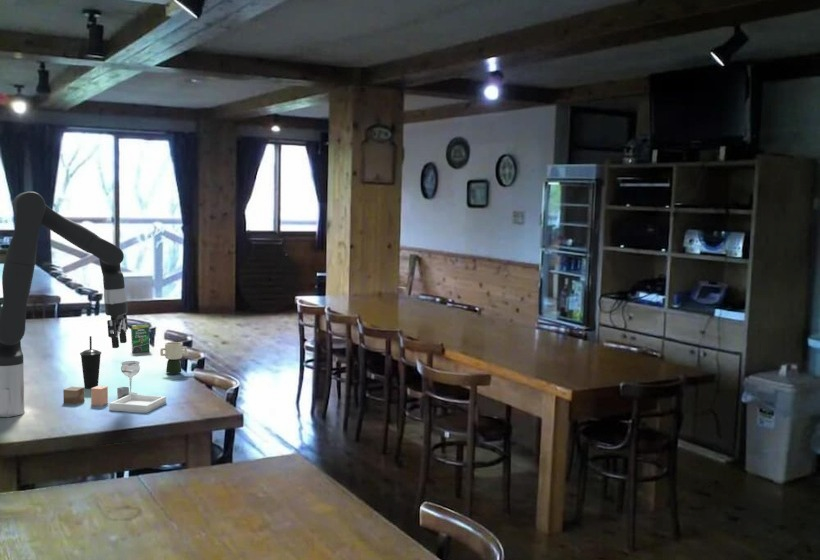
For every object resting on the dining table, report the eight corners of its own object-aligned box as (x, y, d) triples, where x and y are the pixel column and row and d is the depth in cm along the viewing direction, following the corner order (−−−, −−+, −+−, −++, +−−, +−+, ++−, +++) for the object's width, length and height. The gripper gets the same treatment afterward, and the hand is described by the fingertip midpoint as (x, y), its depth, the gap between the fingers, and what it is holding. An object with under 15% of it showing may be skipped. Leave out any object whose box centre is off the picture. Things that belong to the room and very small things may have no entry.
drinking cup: (80, 385, 311) (80, 335, 309) (101, 384, 314) (101, 334, 312) (80, 390, 304) (79, 338, 302) (101, 388, 307) (101, 337, 305)
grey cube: (125, 400, 290) (125, 389, 290) (115, 399, 291) (115, 389, 290) (131, 397, 294) (131, 387, 294) (121, 397, 295) (121, 386, 294)
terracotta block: (101, 405, 282) (101, 389, 281) (91, 404, 283) (91, 388, 282) (107, 403, 286) (107, 386, 285) (97, 402, 287) (97, 385, 286)
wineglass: (134, 396, 295) (133, 365, 294) (117, 395, 297) (117, 363, 296) (143, 392, 302) (143, 361, 301) (127, 391, 303) (127, 360, 302)
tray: (146, 412, 274) (146, 405, 273) (109, 410, 276) (109, 403, 276) (166, 403, 287) (166, 396, 287) (130, 400, 290) (130, 393, 289)
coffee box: (132, 353, 380) (131, 325, 379) (131, 352, 382) (130, 324, 381) (149, 351, 384) (149, 325, 382) (148, 350, 386) (148, 324, 385)
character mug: (185, 371, 342) (184, 341, 341) (188, 374, 336) (188, 343, 335) (158, 373, 337) (158, 342, 336) (162, 376, 331) (162, 345, 330)
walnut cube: (76, 404, 283) (76, 390, 283) (63, 403, 284) (63, 389, 284) (84, 401, 288) (84, 387, 288) (71, 400, 289) (71, 386, 288)
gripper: (111, 298, 292) (115, 341, 294) (98, 304, 278) (102, 350, 280) (132, 297, 292) (136, 340, 294) (119, 303, 278) (123, 349, 280)
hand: (119, 345), depth 287 cm, fingers open, 8 cm apart
